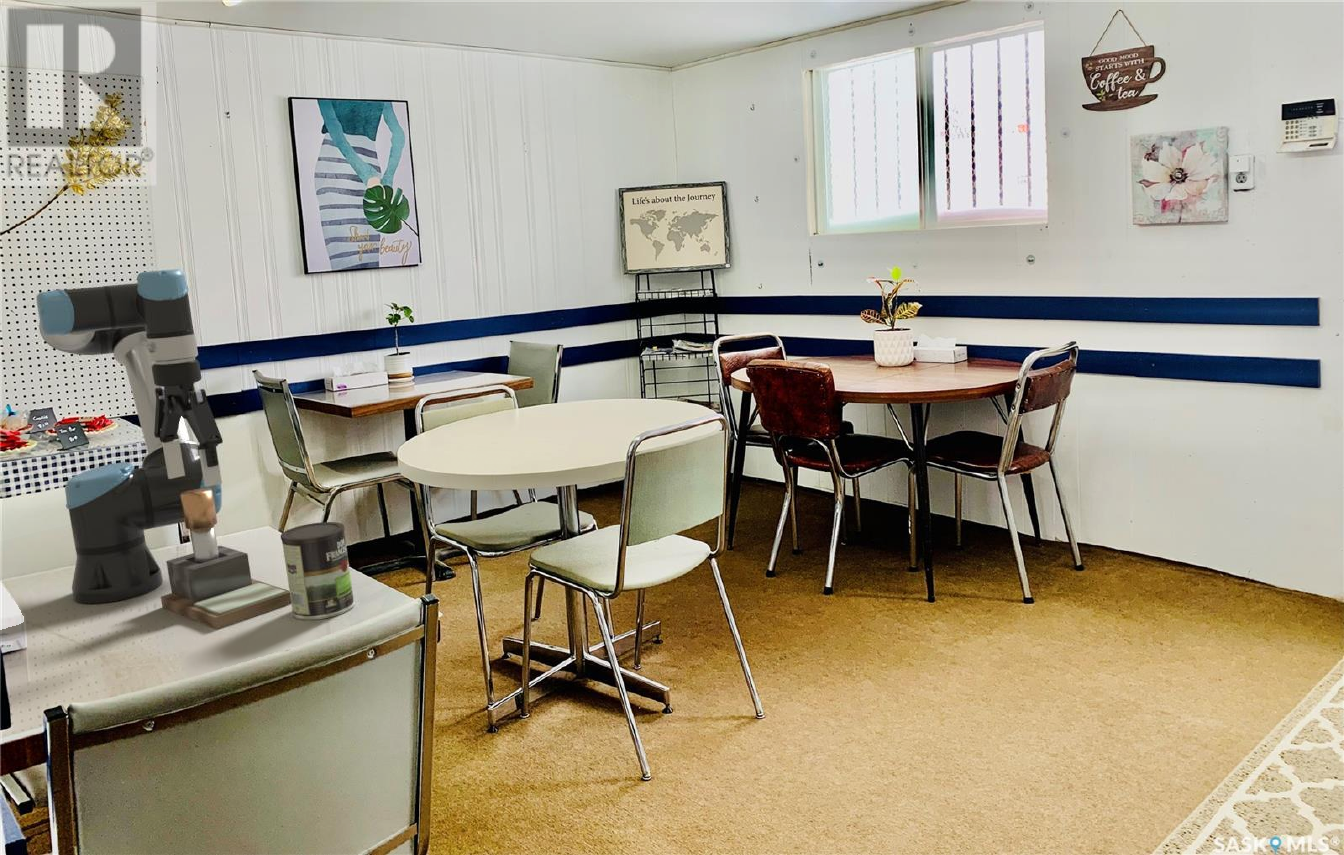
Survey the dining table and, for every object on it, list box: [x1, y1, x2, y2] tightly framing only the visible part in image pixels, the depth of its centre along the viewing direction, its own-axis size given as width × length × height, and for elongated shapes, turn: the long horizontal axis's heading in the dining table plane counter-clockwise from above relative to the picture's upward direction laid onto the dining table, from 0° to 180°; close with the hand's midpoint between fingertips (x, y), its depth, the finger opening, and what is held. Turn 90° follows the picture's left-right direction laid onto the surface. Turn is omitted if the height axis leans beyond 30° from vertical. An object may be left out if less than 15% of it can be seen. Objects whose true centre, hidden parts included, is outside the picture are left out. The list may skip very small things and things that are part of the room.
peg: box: [180, 488, 219, 564], centre depth 191 cm, size 5×5×18 cm
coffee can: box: [280, 521, 355, 621], centre depth 183 cm, size 10×10×14 cm
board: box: [160, 545, 292, 630], centre depth 189 cm, size 20×14×8 cm
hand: (194, 481), depth 189 cm, fingers open, 13 cm apart
